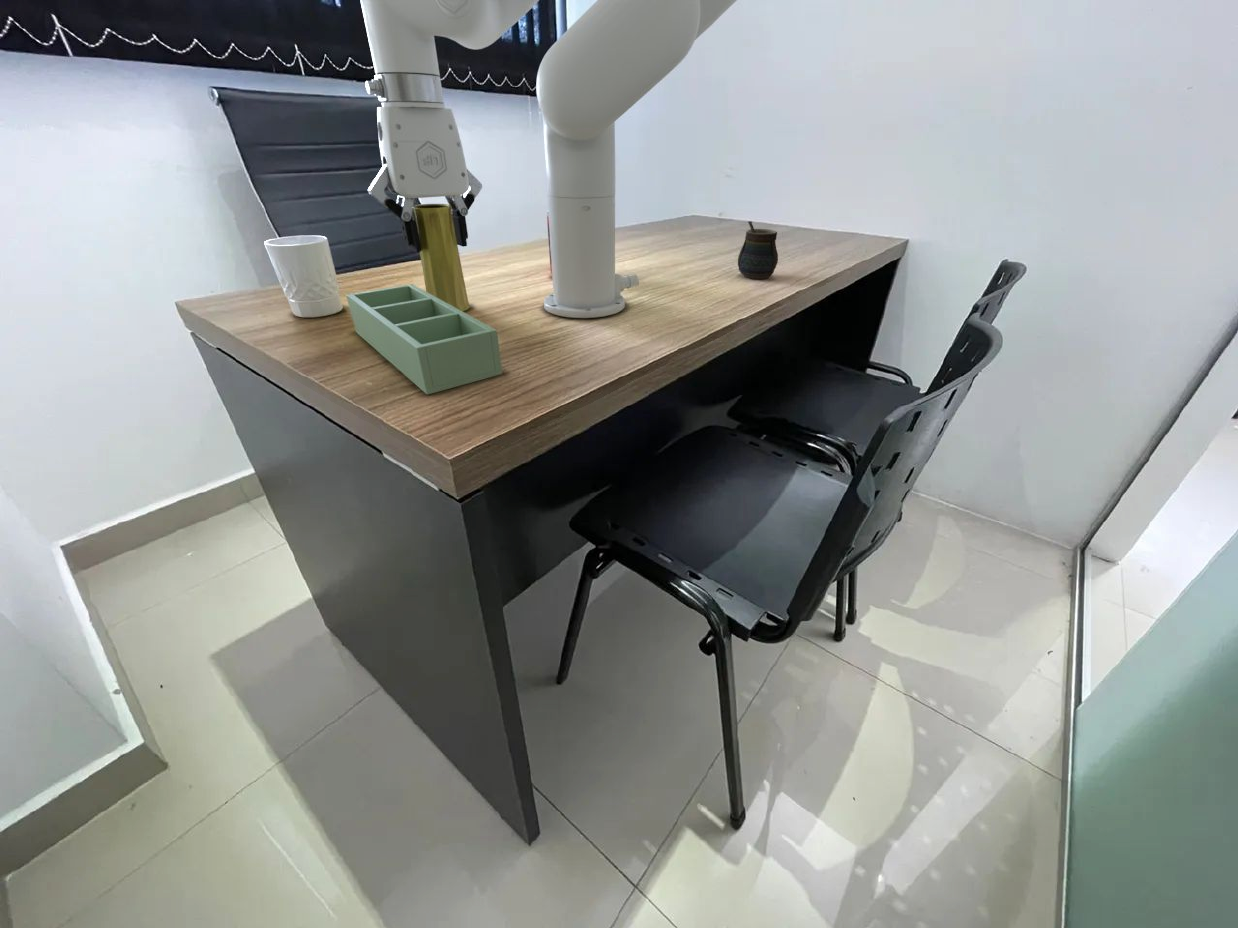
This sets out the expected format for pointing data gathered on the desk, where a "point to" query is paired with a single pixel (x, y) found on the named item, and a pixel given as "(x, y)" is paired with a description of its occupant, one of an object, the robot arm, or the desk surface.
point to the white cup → (306, 274)
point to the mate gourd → (758, 253)
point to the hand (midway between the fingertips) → (438, 246)
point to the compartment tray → (426, 337)
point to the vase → (440, 254)
